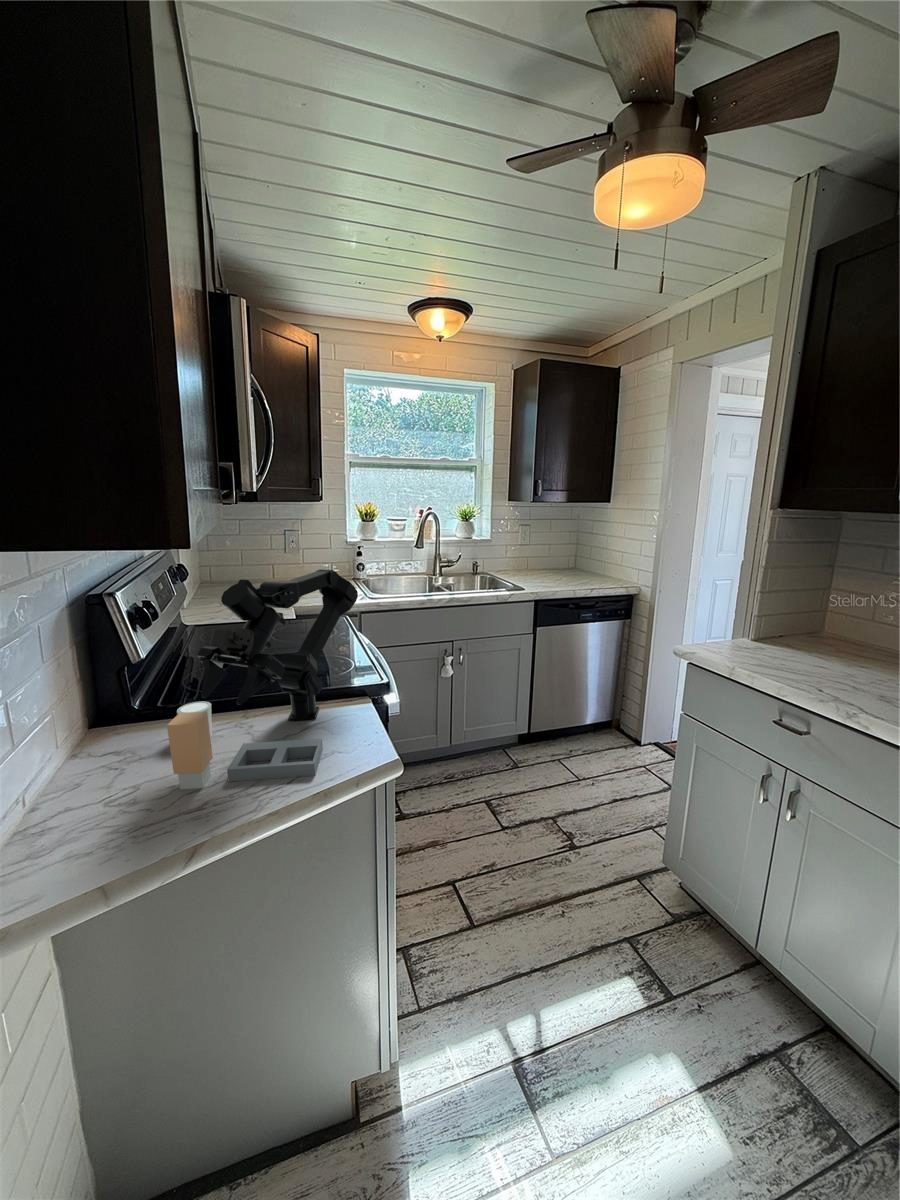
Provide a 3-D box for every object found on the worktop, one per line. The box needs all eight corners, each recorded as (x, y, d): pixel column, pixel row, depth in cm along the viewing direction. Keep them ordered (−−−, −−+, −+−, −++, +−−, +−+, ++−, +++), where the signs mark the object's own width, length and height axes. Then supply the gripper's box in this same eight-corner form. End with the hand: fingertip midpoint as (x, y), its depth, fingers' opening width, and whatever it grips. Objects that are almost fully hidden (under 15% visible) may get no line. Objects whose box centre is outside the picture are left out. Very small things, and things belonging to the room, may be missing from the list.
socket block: (244, 754, 101) (243, 743, 100) (322, 749, 102) (322, 738, 102) (228, 781, 91) (227, 769, 91) (315, 775, 93) (314, 763, 92)
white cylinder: (200, 744, 105) (196, 714, 104) (173, 742, 106) (169, 712, 105) (221, 730, 112) (218, 702, 110) (195, 727, 113) (191, 699, 112)
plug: (187, 776, 93) (179, 713, 90) (214, 774, 94) (207, 711, 91) (176, 791, 88) (166, 725, 86) (204, 789, 89) (196, 723, 86)
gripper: (199, 608, 100) (156, 676, 92) (269, 615, 93) (230, 690, 85) (233, 635, 109) (196, 700, 101) (300, 643, 102) (266, 714, 94)
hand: (220, 700), depth 95 cm, fingers open, 9 cm apart
